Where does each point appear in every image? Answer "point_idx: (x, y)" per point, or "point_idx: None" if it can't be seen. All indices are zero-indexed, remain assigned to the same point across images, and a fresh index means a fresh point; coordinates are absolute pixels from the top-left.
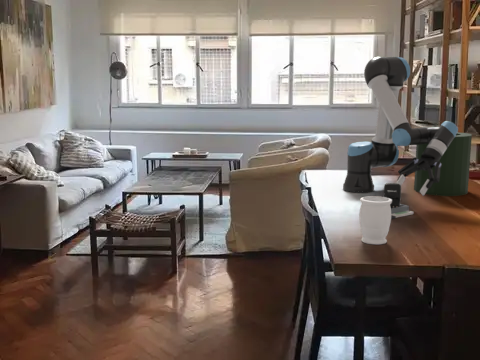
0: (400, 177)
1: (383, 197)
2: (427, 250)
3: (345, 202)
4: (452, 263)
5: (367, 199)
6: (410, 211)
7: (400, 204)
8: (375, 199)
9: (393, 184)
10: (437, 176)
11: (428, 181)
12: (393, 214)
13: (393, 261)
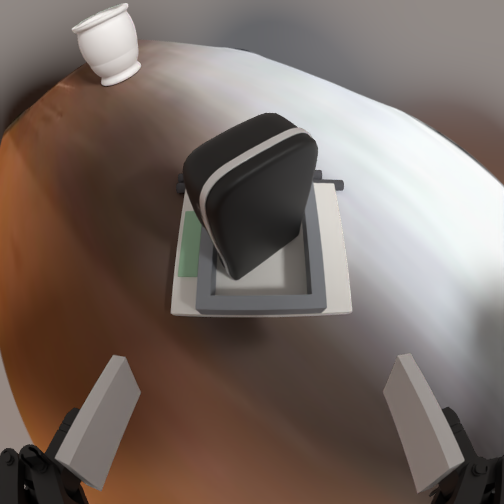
0: (442, 431)
1: (92, 22)
2: (45, 116)
3: (474, 233)
4: (21, 119)
5: (121, 11)
6: (183, 305)
7: (248, 296)
8: (108, 18)
9: (225, 131)
10: (6, 484)
11: (67, 451)
12: None
13: (75, 73)
